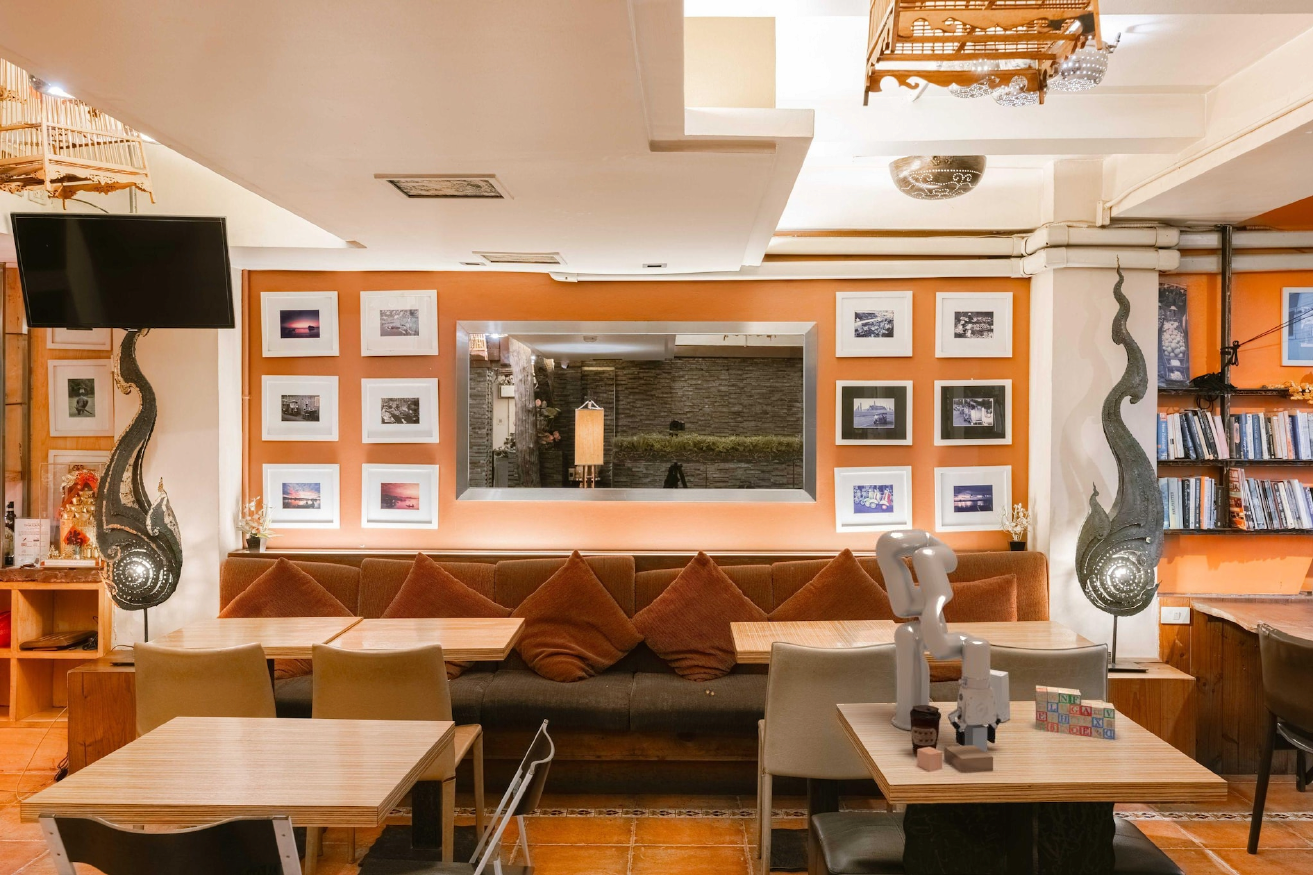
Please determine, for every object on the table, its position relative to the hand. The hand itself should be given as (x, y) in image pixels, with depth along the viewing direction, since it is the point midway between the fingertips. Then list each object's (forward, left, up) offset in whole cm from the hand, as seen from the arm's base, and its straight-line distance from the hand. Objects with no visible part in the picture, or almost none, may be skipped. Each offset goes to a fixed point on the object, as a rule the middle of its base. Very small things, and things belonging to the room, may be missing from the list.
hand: (975, 743), depth 239 cm
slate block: (0, 0, -2) cm, 2 cm away
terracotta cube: (+9, -20, -2) cm, 22 cm away
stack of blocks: (-8, +39, -2) cm, 40 cm away
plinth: (+10, -9, -2) cm, 14 cm away
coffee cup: (0, -16, -2) cm, 16 cm away
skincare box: (-24, +23, -2) cm, 33 cm away
